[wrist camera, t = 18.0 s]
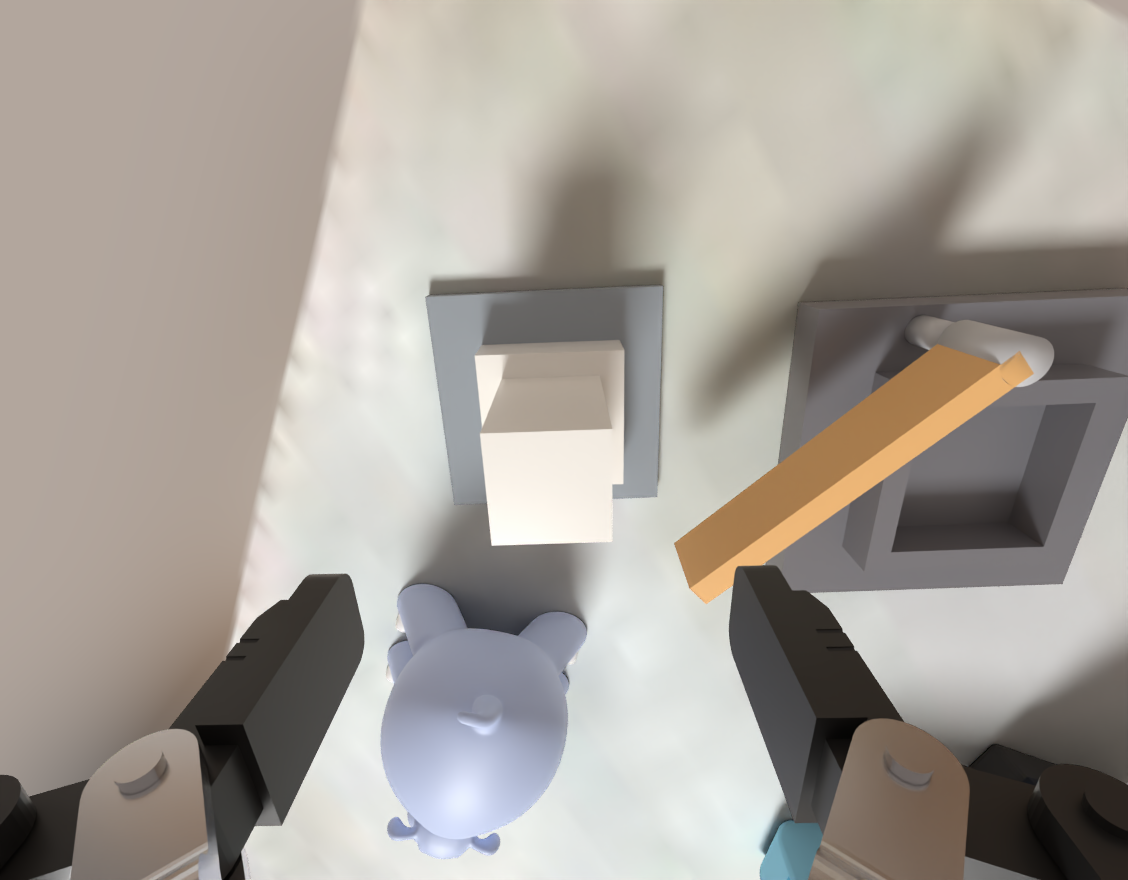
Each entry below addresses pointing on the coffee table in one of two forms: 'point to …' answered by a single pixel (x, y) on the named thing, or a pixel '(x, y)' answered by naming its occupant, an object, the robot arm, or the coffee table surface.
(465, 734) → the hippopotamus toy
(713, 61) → the coffee table surface
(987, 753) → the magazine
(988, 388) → the orange rod with knob
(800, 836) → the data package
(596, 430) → the plug
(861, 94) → the coffee table surface
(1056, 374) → the socket block
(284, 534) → the coffee table surface
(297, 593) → the robot arm
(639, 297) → the mat
